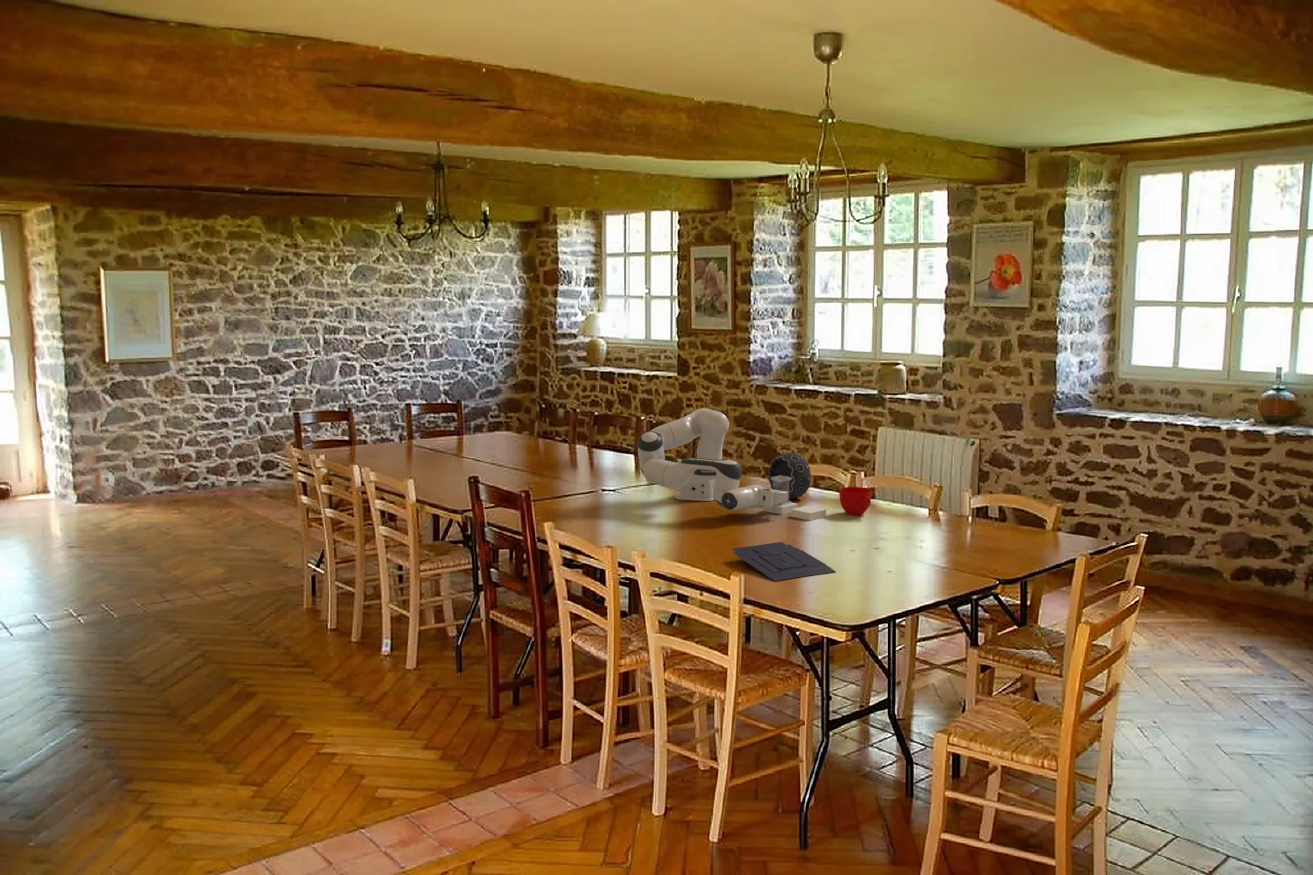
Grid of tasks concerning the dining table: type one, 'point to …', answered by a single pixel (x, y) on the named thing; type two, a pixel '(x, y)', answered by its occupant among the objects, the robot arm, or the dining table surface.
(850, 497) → the ceramic cup
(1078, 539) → the dining table surface
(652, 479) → the robot arm
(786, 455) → the dark grey rounded piece
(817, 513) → the stand
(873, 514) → the dining table surface
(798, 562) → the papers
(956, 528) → the dining table surface
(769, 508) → the stand
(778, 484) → the housing
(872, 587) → the dining table surface
